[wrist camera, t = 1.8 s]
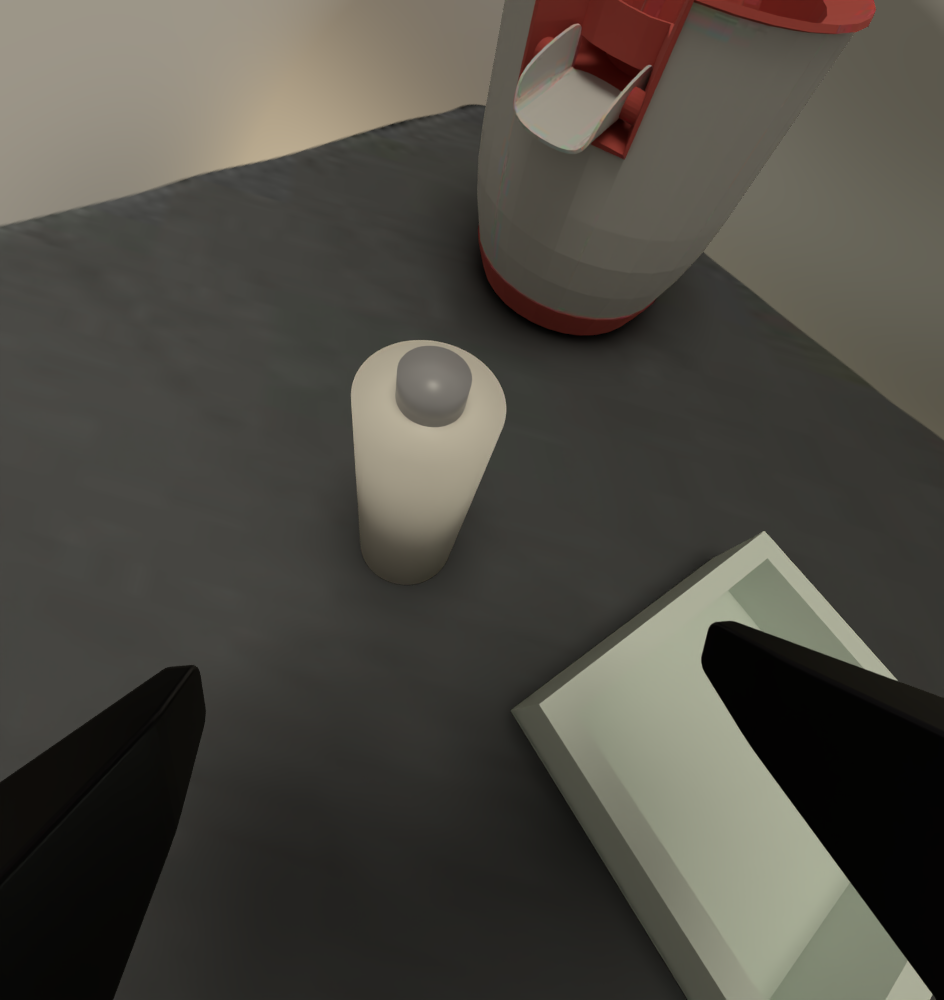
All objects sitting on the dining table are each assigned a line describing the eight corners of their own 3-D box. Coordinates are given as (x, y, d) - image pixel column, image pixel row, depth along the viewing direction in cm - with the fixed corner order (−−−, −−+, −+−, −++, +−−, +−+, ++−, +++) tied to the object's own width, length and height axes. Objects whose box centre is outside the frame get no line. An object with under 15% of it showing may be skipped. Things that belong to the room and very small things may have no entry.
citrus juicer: (390, 279, 31) (413, -319, 13) (532, 188, 39) (663, -261, 21) (582, 418, 29) (912, -85, 11) (691, 291, 37) (983, -118, 19)
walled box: (737, 1081, 16) (837, 1174, 13) (510, 710, 20) (539, 704, 17) (918, 808, 22) (1023, 822, 18) (711, 559, 26) (764, 530, 22)
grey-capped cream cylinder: (388, 602, 21) (403, 471, 11) (344, 524, 23) (319, 340, 12) (467, 557, 23) (546, 406, 13) (422, 487, 24) (459, 297, 14)
